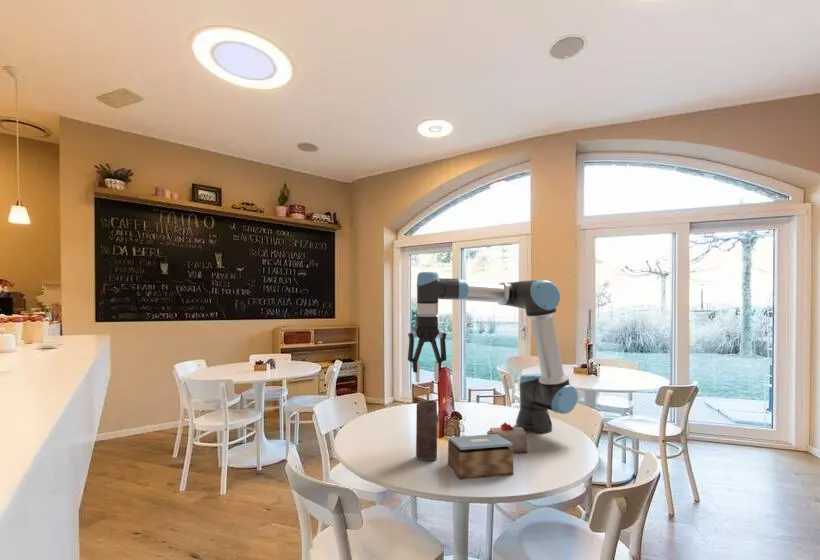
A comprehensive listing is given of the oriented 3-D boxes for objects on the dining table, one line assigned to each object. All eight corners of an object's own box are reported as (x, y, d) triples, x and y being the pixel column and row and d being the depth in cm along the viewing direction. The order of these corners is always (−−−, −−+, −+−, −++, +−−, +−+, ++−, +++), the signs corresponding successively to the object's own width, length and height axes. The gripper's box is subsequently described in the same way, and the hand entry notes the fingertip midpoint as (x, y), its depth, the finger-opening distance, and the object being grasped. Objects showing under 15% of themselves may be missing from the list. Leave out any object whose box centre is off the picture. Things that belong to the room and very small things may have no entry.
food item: (491, 455, 148) (491, 427, 148) (486, 447, 156) (486, 420, 156) (528, 454, 149) (528, 427, 149) (521, 446, 157) (521, 420, 157)
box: (497, 460, 143) (497, 436, 144) (513, 474, 132) (513, 449, 132) (448, 464, 139) (448, 440, 140) (460, 479, 128) (460, 453, 128)
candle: (430, 465, 139) (430, 405, 140) (411, 460, 143) (412, 401, 144) (440, 457, 145) (441, 400, 146) (422, 453, 149) (423, 397, 150)
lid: (496, 436, 144) (496, 433, 144) (512, 445, 132) (512, 443, 132) (448, 439, 140) (448, 437, 140) (460, 449, 128) (460, 447, 128)
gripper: (449, 315, 152) (449, 378, 151) (398, 315, 148) (398, 380, 147) (456, 316, 144) (456, 382, 144) (403, 316, 140) (402, 384, 139)
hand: (426, 381), depth 145 cm, fingers open, 6 cm apart
